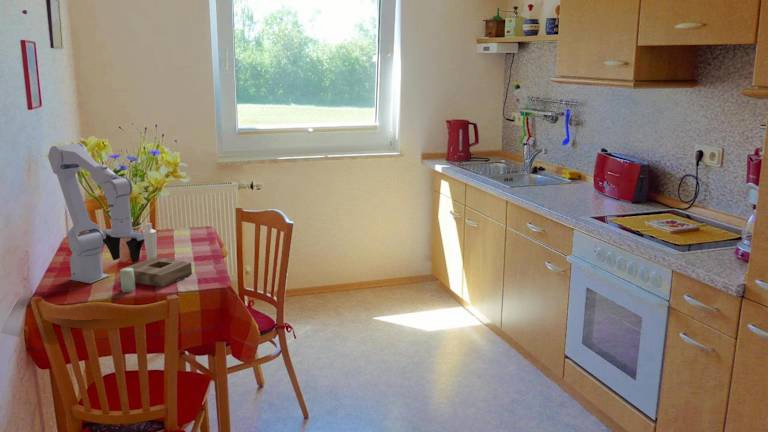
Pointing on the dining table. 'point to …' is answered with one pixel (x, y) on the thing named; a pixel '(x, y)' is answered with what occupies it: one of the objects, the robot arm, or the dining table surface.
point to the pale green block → (127, 279)
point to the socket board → (160, 271)
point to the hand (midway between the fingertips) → (125, 260)
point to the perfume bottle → (150, 241)
